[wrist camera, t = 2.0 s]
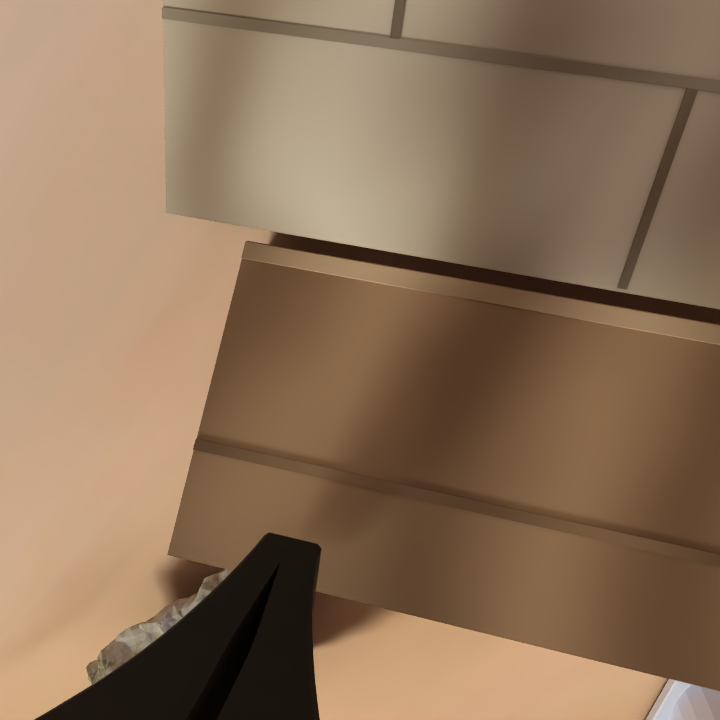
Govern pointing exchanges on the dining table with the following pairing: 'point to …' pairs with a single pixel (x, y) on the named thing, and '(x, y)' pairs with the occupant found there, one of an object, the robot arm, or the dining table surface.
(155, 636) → the rock
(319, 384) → the plank
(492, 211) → the beige grooved panel
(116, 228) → the dining table surface
